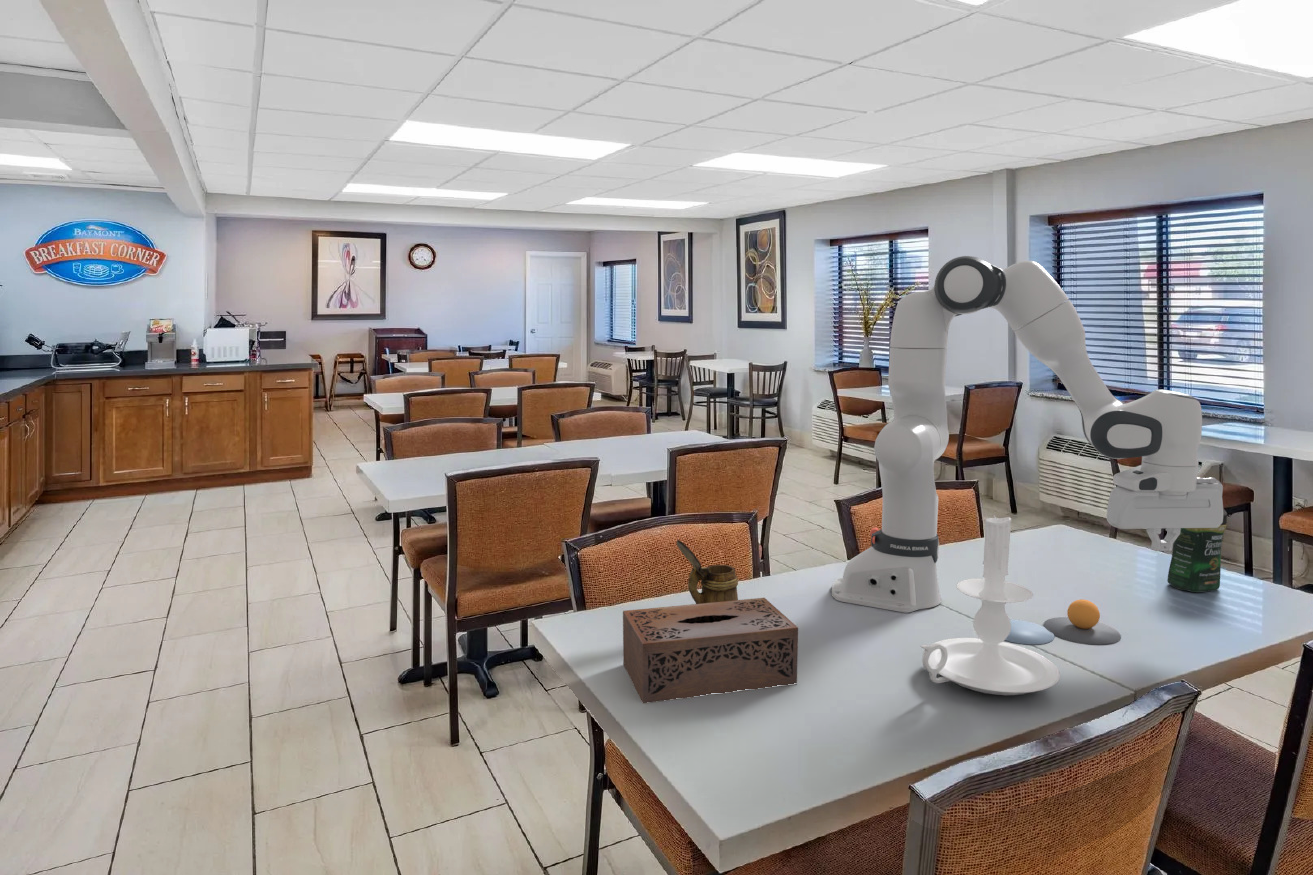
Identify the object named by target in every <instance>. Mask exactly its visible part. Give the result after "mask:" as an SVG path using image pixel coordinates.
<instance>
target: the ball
mask: <svg viewBox="0 0 1313 875" xmlns="http://www.w3.org/2000/svg"><path fill="white" fill-rule="evenodd" d="M1066 612H1067V614H1066V615H1067V617H1068V618H1069V620H1070V622H1071V623H1072V624H1073V625H1075V626H1076V627H1078V628H1082V629H1089V628H1092V627H1094V626H1095V625H1096V624H1097V623H1098V622H1099V621H1100V618H1101V617H1100V616H1101V613H1100V610H1099V608H1098V606H1097V605H1096V604H1095V603H1094V602H1092V601H1090V600H1087V599H1076V600H1074V601H1073V602H1071V603H1070V604H1069V606H1068V607H1067V610H1066Z"/></svg>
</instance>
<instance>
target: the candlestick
mask: <svg viewBox="0 0 1313 875" xmlns="http://www.w3.org/2000/svg"><path fill="white" fill-rule="evenodd" d="M992 516H993V517H987V518H986V519H985V521H984V522H985V525H984V545H983V546H984V548H983V549H984V550H983V551H984V552H983V561H982V565H983V571H982V572H983V573H982V578H968V579H964V580H960V581H958V583H956V584H955V585H956V589H957V590H958V591H959V592H960V593H962V594H964V595H966V596H969V597H971V598H975V599H977V600H980V601H981V605H980V608H978V610H977V611H976V613H975V614H974V617H973V621H972V626H973V630H974V632H975V634H976V635H977V637H978V638H977V637H976V638H975V637H957V638H949V639H948V638H945V639H942V640H939V641H936V642H933V643H931V644H930V645H927V644H922V645H920V647H921V649H924V651H923V653H922V660H921V662H922V666H923V668H924V669H925V670H926V672H928V675H929V680H930V681H932V682H933V683H935V684H942V683H945V682H952V683H954V684H957V685H958V686H961V687H963V688H965V689H966V688H967V689H970V690H972V691H974V692H980V693H983V694H990V695H995V696H998V695H999V696H1000V695H1001V696H1017V695H1025V694H1029V693H1035V692H1039V691H1045V690H1047V689H1049V688H1051V687H1053V686H1055V685H1056V684H1057V683H1058V681H1060V676H1061V674H1060V671H1059V668H1058V667H1057V666H1056V664H1054V662H1052V661H1051V660H1049V659H1048V658H1046V657H1045V656H1043V655H1042V654H1040V653H1037V652H1036V651H1034V650H1030V649H1028V648H1025V647H1023V646H1019V645H1017V644H1014V643H1011V642H1010V643H1009V642H1005V639H1006V638H1007V636H1008V635H1009V633H1010V631H1011V622H1010V619H1011V618H1010V617H1009V615H1008V613H1007V612H1006V609H1005V607H1006V606H1005V605H1006V604H1008V603H1009V604H1010V603H1013V604H1014V603H1022V602H1027V601H1029V600H1031V599H1032V598H1033V597H1034V593H1033V592H1032V590H1030V589H1029V588H1027V587H1025V586H1023V585H1020V584H1018V583H1015V582H1011V581H1006V580H1005V578H1006V577H1007V576H1009V557H1010V556H1009V555H1010V540H1011V527H1012V526H1011V524H1012V518H1011V517H1010V516H1007V517H1000V518H999V517H996V515H995V514H993V515H992ZM937 675H941V677H937Z"/></svg>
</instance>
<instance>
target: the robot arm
mask: <svg viewBox="0 0 1313 875" xmlns="http://www.w3.org/2000/svg"><path fill="white" fill-rule="evenodd" d="M937 272H938V273H937V274H936V276H935V280H934V285H933V286H932V288H931V289H929V290H925V291H915V292H911V293H909V294H906V295H904V296H903V297H902V298H900V299H899V301H898V302H897V305H896V308H895V312H894V316H893V320H892V326H891V333H890V343H889V344H890V345H889V357H888V358H889V359H888V360H889V361H888V379H887V380H888V381H887V382H888V384H887V385H888V390H889V391H890V395H891V402H892V408H893V420H892V421H890V422H888V423H887V424H886V425H884V427H883V428H882V429H881V430H880V431H879V433H878V434H877V437H876V439H875V442H874V448H873V450H874V456H875V458H876V460H877V461H878V469H879V476H880V482H881V491H882V510H881V511H882V512H881V529H879V528H878V527H877V526H876V527H872V528H871V529H870V534H869V535H870V537H871V540H870V547H868V548H867V549H865V550H864V551H862V552H860V553H859V554H857V555H856V556H854V557H853V558H851V559H850V560H849V561H848V562H847V563H846V565H845V568H844V571H843V573H842V574H843V575H842V577H841V578H839V579H837V580H835V581H834V582H833V584H832V587H831V595H832V597H833V598H834V599H835V601H837V602H842V603H847V604H852V605H853V604H854V605H855V604H856V605H861V606H865V607H872V608H878V609H884V610H887V611H896V612H900V613H912V612H915V611H917V610H923V609H929V608H933V607H936V606H938V605H940V604H941V603H942V596H941V592H940V587H939V581H938V580H939V579H938V572H937V570H938V569H937V562H938V559H939V555H940V540H939V534H938V533H937V532H938V517H939V516H938V513H939V495H938V494H937V490H936V489H937V487H936V481H935V469H934V466H935V461H936V460H938V459H939V458H940V457H941V456H942V455H943V454H944V453H945V451H946V449H947V446H948V444H949V438H950V432H949V429H948V428H949V427H948V426H949V425H948V409H947V400H946V398H947V397H946V373H947V372H946V370H947V357H948V356H947V355H948V354H947V353H948V338H949V337H948V335H949V329H950V325H951V322H952V320H953V319H954V318H955V317H958V316H962V315H970V314H975V313H977V312H979V311H981V310H983V309H988V308H991V309H995V311H998V312H999V313H1000V314H1001V315H1002V316H1003V318H1004V319H1005V321H1006V322H1007V323H1008V325H1009V327H1010V328H1011V329H1012V331H1013V333H1014V334H1015V336H1016V337H1017V339H1018V340H1019V341H1020V342H1021V344H1022V345H1023V346H1024V347H1025V349H1027V351H1028V352H1029V353H1030V354H1031V355H1032V356H1033V357H1034V358H1035V359H1036V360H1037V361H1039V362H1040V363H1041V364H1043V365H1045V366H1046V367H1048V368H1049V369H1050V370H1051V371H1052V372H1053V373H1054V374H1055V375H1056V376H1057V377H1058V379H1060V382H1061V383H1062V384H1063V386H1064V387H1065V389H1066V391H1067V392H1068V394H1069V395H1070V397H1071V398H1072V399H1073V401H1074V403H1075V404H1076V406H1077V408H1078V410H1079V412H1080V416H1081V426H1082V427H1081V428H1082V432H1083V435H1084V438H1085V439H1086V440H1087V442H1088V443H1089V444H1090V445H1091V446H1093V448H1094V449H1095V450H1096V451H1097V452H1098V453H1099V454H1101V455H1103V456H1104V457H1106V458H1110V459H1115V460H1121V459H1132V458H1141V464H1140V465H1137V466H1134V467H1132V468H1129V469H1126V470H1123V471H1120V472H1118V473H1115V474H1114V475H1113V477H1112V478H1113V479H1112V483H1113V485H1116V486H1115V487H1114V488H1112V490H1111V491H1110V494H1109V495H1108V496H1109V498H1108V502H1107V508H1106V520H1107V522H1108V523H1109V525H1110V526H1112V527H1115V528H1116V529H1120V530H1126V529H1127V530H1130V529H1131V530H1134V529H1135V530H1137V529H1138V530H1139V529H1141V530H1143V529H1144V530H1145V531H1146V533H1147V535H1148V537H1149V539H1150V541H1151V546H1150V548H1151V550H1152V551H1155V552H1173V546H1174V541H1175V540H1176V539H1177V537H1178V536H1179V535H1180V531H1181V528H1218V527H1219V526H1220V525H1221V524H1222V522H1223V508H1224V504H1223V503H1224V502H1223V500H1224V499H1223V492H1224V491H1223V490H1224V489H1223V488H1224V486H1223V484H1222V482H1221V481H1219V480H1218V479H1216V478H1215V477H1206V478H1205V477H1198V474H1199V473H1198V472H1199V465H1200V464H1199V458H1198V449H1199V446H1200V444H1201V441H1202V430H1203V412H1202V410H1203V409H1202V406H1201V403H1200V401H1199V400H1198V399H1197V398H1196V397H1194V396H1193V395H1191V394H1188V393H1183V392H1180V391H1174V390H1168V389H1155V390H1152V392H1149V393H1148V394H1147V395H1144V396H1143V397H1140V398H1138V399H1136V400H1133V401H1131V402H1126V403H1125V402H1123V401H1121V399H1118V398H1116V397H1115V396H1114V395H1113V394H1112V392H1111V391H1110V390H1109V388H1108V387H1107V385H1106V384H1105V382H1104V380H1103V379H1102V377H1101V376H1100V374H1099V373H1098V372H1097V370H1096V368H1095V367H1094V365H1093V364H1092V362H1091V359H1090V357H1089V355H1088V351H1087V346H1086V331H1085V328H1084V325H1083V322H1082V320H1081V318H1080V315H1079V314H1078V311H1077V310H1076V308H1075V306H1074V304H1073V303H1072V301H1071V300H1070V298H1069V297H1068V295H1067V294H1066V292H1065V291H1064V290H1063V289H1062V287H1061V286H1060V284H1058V282H1057V281H1056V279H1054V278H1053V277H1052V276H1051V275H1050V273H1049V272H1048V271H1047V270H1046V269H1045V268H1044V267H1043V266H1042V265H1041V264H1040V263H1038V262H1037V261H1033V260H1023V261H1017V262H1016V263H1013V264H1011V265H1010V266H1008V267H1006V268H1003V269H1002V268H1001V267H998V266H997V265H994V264H992V263H989V262H988V261H986V260H984V259H982V258H979V257H977V256H971V255H970V256H969V255H962V256H957V257H954V258H952V259H950V260H948V261H947V262H946V263H944V265H942V266H941V268H940V269H939V271H937ZM1162 529H1165V531H1166V532H1167V533H1166V535H1165V536H1164V538H1163V539H1161V538H1160V536H1159V535H1161V533H1162Z"/></svg>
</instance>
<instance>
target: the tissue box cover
mask: <svg viewBox="0 0 1313 875" xmlns="http://www.w3.org/2000/svg"><path fill="white" fill-rule="evenodd" d="M622 642H623V643H622V644H623V646H622V647H623V649H622V652H623V654H622V657H623V658H622V659H623V660H622V661H623V667H624V669H625V671H626V673H627V675H628V677H629V678H630V681H631V683H632V685H633V688H635V691H636V693H637V695H638V696H639V699H640V701H641V703H642V704H648V703H647V702H650V703H657V702H656V701H658V702H665V701H664V700H666V701H671V700H670V699H674V700H677V699H676V698H683V699H687V697H691V698H695V697H694V696H699V697H701V696H700V695H706V694H711V693H723V694H726V693H725V692H731V693H734V692H733V691H737V690H745V689H755V690H759V689H758V688H763V689H766V688H765V687H771V688H773V687H772V686H777V685H787V686H789V685H788V684H794V683H797V684H798V657H799V656H798V650H799V649H798V648H799V645H798V644H799V627H798V626H797V625H796V624H794V622H792V621H791V620H790V619H789V618H788V617H787V616H786V615H785V614H783V612H781V611H780V610H779V609H778V608H777V607H776V606H775V605H774V604H772V603H771V602H770V601H769V600H768V599H766V598H765V597H757V598H745V599H738V600H733V601H723V602H712V603H702V604H696V603H692V604H681V605H671V606H662V607H661V606H660V607H652V608H640V609H630V610H622Z"/></svg>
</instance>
